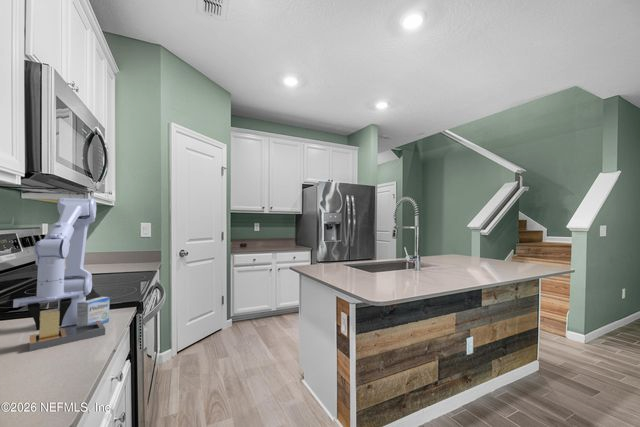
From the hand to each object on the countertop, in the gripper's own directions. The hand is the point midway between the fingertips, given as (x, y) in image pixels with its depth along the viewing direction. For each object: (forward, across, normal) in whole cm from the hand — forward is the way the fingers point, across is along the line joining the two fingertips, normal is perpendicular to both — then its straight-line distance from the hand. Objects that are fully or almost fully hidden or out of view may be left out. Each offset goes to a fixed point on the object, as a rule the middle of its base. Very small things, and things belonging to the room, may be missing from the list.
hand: (49, 327), depth 82 cm
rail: (+4, +4, 0) cm, 6 cm away
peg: (+3, 0, 0) cm, 3 cm away
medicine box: (+5, +11, +10) cm, 16 cm away
